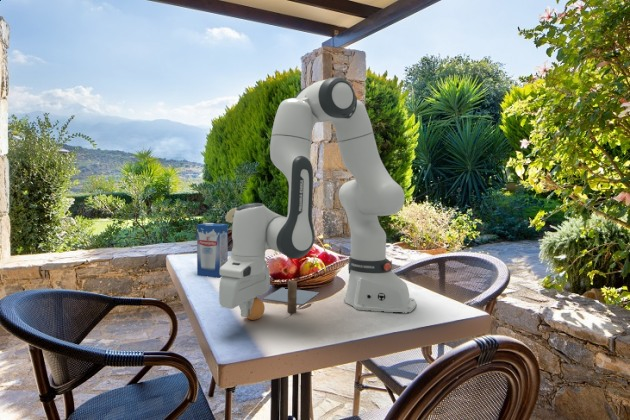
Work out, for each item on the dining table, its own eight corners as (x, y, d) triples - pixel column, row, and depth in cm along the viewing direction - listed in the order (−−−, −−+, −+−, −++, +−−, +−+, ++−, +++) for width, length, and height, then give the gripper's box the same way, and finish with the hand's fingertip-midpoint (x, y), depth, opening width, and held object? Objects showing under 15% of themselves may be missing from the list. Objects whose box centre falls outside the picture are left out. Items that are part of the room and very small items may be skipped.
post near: (297, 310, 120) (298, 281, 119) (294, 313, 117) (294, 283, 116) (289, 309, 121) (290, 279, 120) (285, 312, 118) (286, 282, 117)
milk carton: (197, 275, 159) (196, 224, 157) (206, 271, 164) (205, 222, 163) (219, 277, 156) (219, 226, 154) (227, 274, 161) (227, 224, 160)
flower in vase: (249, 259, 190) (249, 206, 188) (258, 264, 180) (258, 208, 178) (221, 261, 184) (221, 206, 182) (229, 266, 174) (229, 208, 172)
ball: (262, 325, 111) (271, 306, 114) (253, 313, 107) (262, 294, 111) (245, 322, 113) (253, 304, 117) (235, 310, 110) (244, 292, 113)
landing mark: (319, 293, 138) (319, 292, 138) (302, 304, 125) (302, 304, 125) (282, 288, 143) (282, 287, 143) (262, 299, 130) (262, 298, 130)
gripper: (256, 257, 118) (254, 303, 119) (215, 269, 99) (213, 325, 100) (276, 259, 116) (274, 307, 117) (237, 273, 97) (235, 329, 98)
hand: (245, 315), depth 108 cm, fingers closed
